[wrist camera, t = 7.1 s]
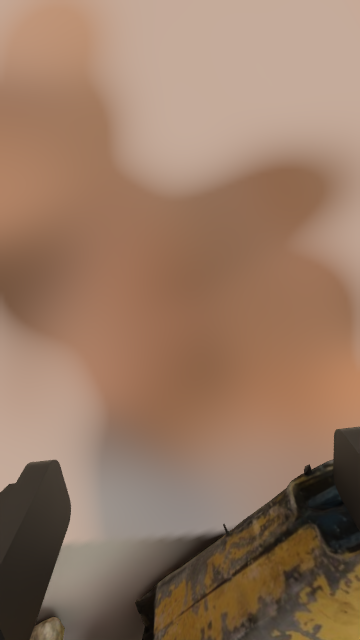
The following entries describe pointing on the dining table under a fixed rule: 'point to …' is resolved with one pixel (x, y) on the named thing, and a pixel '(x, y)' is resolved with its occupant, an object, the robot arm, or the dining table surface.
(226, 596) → the pulley block
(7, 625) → the robot arm
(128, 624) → the dining table surface
